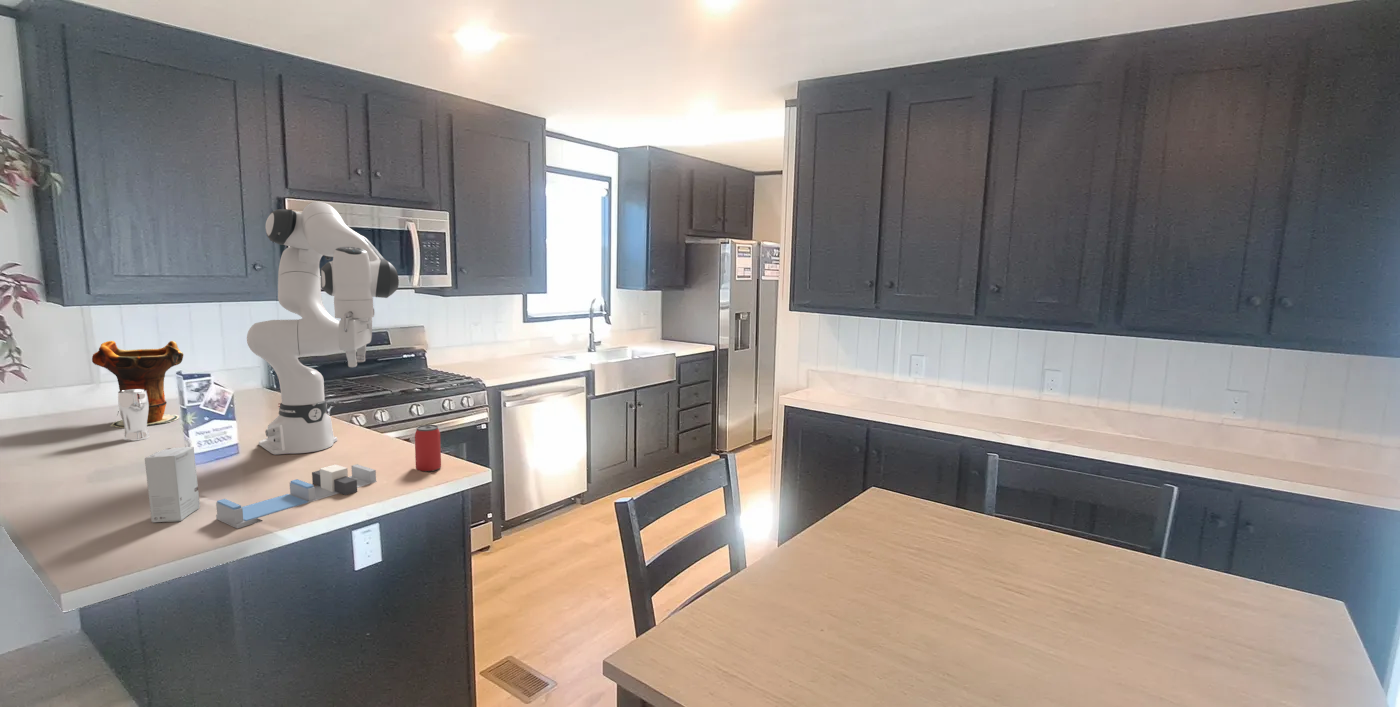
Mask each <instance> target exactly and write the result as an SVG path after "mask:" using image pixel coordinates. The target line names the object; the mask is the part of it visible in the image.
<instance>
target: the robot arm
mask: <svg viewBox="0 0 1400 707" xmlns="http://www.w3.org/2000/svg"><path fill="white" fill-rule="evenodd" d="M265 233H266V237H267V238H268V239H269V241H271V242H273V243H275V244H277V245H280V246H282V245H284V246H287V247H286V248H285V249H284V250H283V251H282V253H281V257H280V260H279V264H278V265H279V266H278V273H277V274H278V275H277V277H278V278H277V300H278V303H279V305H280V306H281V307H282V308H284V310H286V311H288V312H290V313H293V314H296V315H297V316H300V318H299V319H270V320H263V321H259V322H255V323H253V324H252V325H251V327H249V329H248V331H247V334H246V342H247V346H248V348H249V349H250V351H251V352H252V353H253V354H254V355H256V356H258V357H260V358H261V359H263V360H265V361H266V363H268V364H269V366H271V368H272V369H273V371H274V372H275V374H276V376H277V379H278V382H279V383H278V384H279V388H280V397H281V402H280V403H278V406H277V407H278V416H276V417H275V418H274V420H273V421H271V422H270V423H269V424H268V425H267V429H265V436H266V438H264V439H261V440H259V441H258V445H259V447H262V448H263V449H265V450H266V451H267V452H269V453H270V454H272V455H285V454H305V453H313V452H319V451H322V450H326V449H329V448H330V447H332V446H333V445H334V443H336V442H338V436H335V435H334V430H333V423H332V417H331V416H330V414H328V413H327V411H328V402H327V399H325V398H326V397H325V386H324V385H325V381H324V376H323V375H322V373H321V372H319V371H318V370H317V369H315V368H313V367H309V366H307V365H304V364H303V363H302V362H301V361H300V360H299V358H300V357H316V356H317V357H320V356H323V357H324V356H329V355H330V356H331V355H334V354H339V353H343V352H344V351H345V356H346V359H347V366H348V368H356V367H357V366H358V363H364V362H366V353H367V345H368V344H370V343H371V342H372V338H373V318H374V317H375V308H374V298H381V299H382V298H383V299H384V298H385V299H388V298H389V297H391V296H392V295H393V294H394V293H395V292H397V290H398V288H399V285H400V284H399V283H400V280H399V274H398V271H397V269H396V268H395V266H394V265H393V264H392V263H391V262H389V261H388V260H386V258H384V256H382V254H381V253H380V252H379V251H378V249H377V248H376V247H375V246H374V245H373V244H372V242H371V241H370V240H369V239H368V238H367V237H365V236H364V235H362V234H361V233H358V232H357V231H355V230H354V229H352V228H351V227H349V226H348V225H347V224H346V223H345V221H344V219H343V218H342V216H341V214H340V213H339V212H338V210H337V209H335V208H334V207H333V206H332V205H331V204H329V203H326V202H324V201H312V202H311V203H309V204H306V206H305V207H304V208H303V210H302V211H301V212H300V211H295V210H293V209H285V208H284V209H283V208H281V209H275V210H273V211H271V212H270V213H269V215H268V217H267V219H266V221H265ZM322 257H324V258H325V260H327V261H328V262H326V263H325V264H324V265H323V266H321V267H320V264H321V260H322ZM330 260H331V261H330ZM321 289H322V290H321ZM322 291H324V292H325V293H326V294H328V295H329V296H332V297H333V303H334V304H333V305H334V316H333V315H331V314H330V313H329V312H328V311H327V309H326V307H325V305H324V304H323V303H324V302H323V298H322ZM339 319H340V320H339Z"/></svg>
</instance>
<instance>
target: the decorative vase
mask: <svg viewBox="0 0 1400 707" xmlns="http://www.w3.org/2000/svg"><path fill="white" fill-rule="evenodd" d="M183 359H184V353H183V352H182V351H181V350H180V349H179V347H178V344H177V342H176V341H174V340H170V341H169V342H168V343H167V344H166V345H165V346H163V347H161V348H142V349H120V348H118V346H117V343H116V342H115V341H114V340H108V341H105V342H102V343H101V344H100V346H99V349H98V351H96V352H94V353H93V354H92V357H91V361H92V363H93V364H94V365H95V366H99V367H102V368H104V369H106V370H108V371H109V373H112V374H113V375H114V376H116V379H117V384H118V389H119V391H123V390H129V389H146V391H147V396H148V402H149V411H148V419H147V426H149V425H150V426H151V425H157V424H167V423H170V422H171V423H172V422H174V421H177V420H178V419H179V418H180V415H177V414H167V413H165V411H166V407H167V404H168V403H167V400H166V398H165V386H164V384H165V377H166V372H167V371H169V370H170V369H172V367H175V366H178V365H180V364H181V363H182V361H183ZM119 414H120V411H117V414H116V416H118V415H119ZM110 427H115V428H122V429H123V428H124V424H123V421H122V419H120V420H116V421H114V422H112V423H111V424H110ZM124 429H125V428H124Z"/></svg>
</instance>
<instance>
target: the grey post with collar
mask: <svg viewBox="0 0 1400 707" xmlns="http://www.w3.org/2000/svg"><path fill="white" fill-rule="evenodd" d="M349 477H350V476H349V473H348V467H345V466H342V465H338V464H336V463H335V464H332V465H328V466H325V467H321V468H319V470H315V471H312V472H311V478H312V480H311V481H312V485H316V486H321V488H323V489H326V490H328V491H331V492H334V491H335V492H338V493H339V494H341V495H344V496H347V495H350V494H355V493H357V492H358V488H357V480H356V479H353V478H349Z"/></svg>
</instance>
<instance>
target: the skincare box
mask: <svg viewBox="0 0 1400 707" xmlns="http://www.w3.org/2000/svg"><path fill="white" fill-rule="evenodd" d="M144 464H145V475H146V484H147V491H148V501H149V511H150V519H151V520H150V521H151V523H161V522H162V523H165V522H166V523H170V522H171V523H172V522H181V521H183V520H184V519H185V518H186V517H188V516H189V515H191V514H192V513H194V512H196V511H198V510H199V509H200V507H201V505H200V504H201V503H200V493H199V485H198V476H197V467H196V466H197V465H196V455H195V447H194V446H183V447H167V448H166V447H165V448H164V449H161V450H160V451H155V452H154V453H153V454H150V455H149V456H145V458H144Z"/></svg>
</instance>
